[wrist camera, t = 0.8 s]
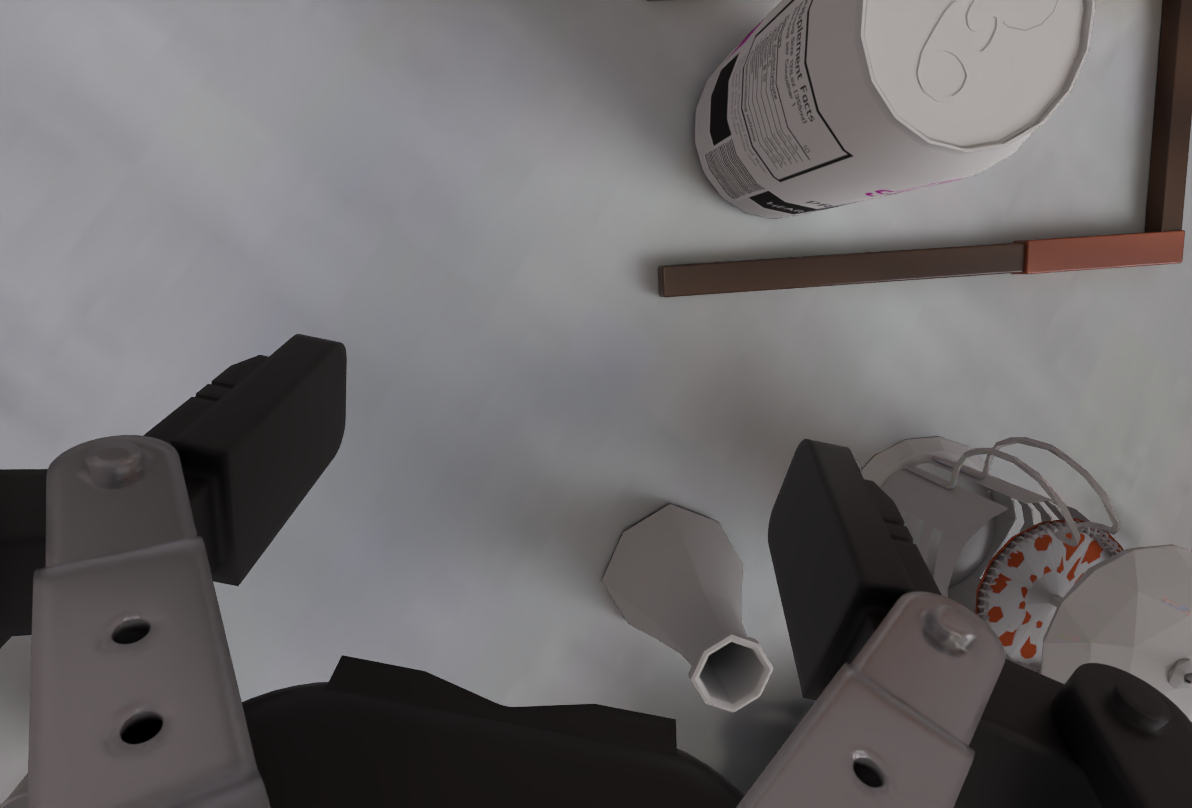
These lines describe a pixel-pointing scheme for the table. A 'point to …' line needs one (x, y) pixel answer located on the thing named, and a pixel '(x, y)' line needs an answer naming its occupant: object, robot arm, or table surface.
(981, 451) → the french press
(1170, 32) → the slide track
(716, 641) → the flask
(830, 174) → the supplement can
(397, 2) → the table surface
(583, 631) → the table surface
